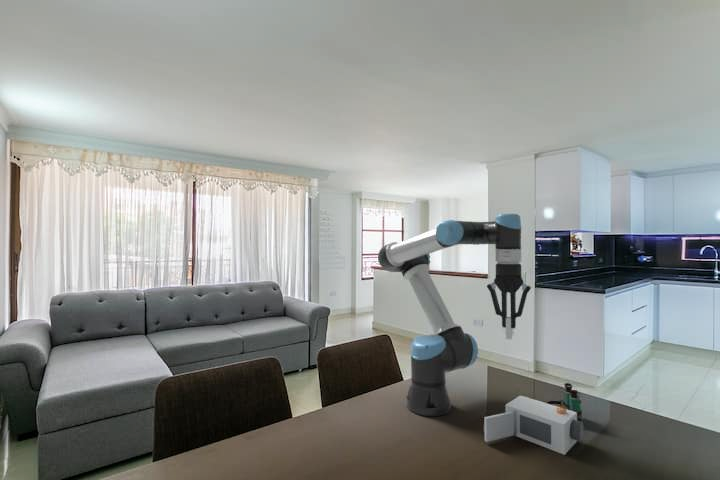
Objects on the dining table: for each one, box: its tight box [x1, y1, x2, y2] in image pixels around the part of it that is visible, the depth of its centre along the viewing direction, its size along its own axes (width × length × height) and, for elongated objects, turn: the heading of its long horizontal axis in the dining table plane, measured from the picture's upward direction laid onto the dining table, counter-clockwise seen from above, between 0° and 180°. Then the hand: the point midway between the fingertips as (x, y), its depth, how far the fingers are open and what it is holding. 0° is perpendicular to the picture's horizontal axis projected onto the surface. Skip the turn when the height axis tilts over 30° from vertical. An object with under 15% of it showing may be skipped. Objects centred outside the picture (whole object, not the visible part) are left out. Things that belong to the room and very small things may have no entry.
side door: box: [483, 411, 516, 443], centre depth 103 cm, size 11×2×6 cm, turn 111°
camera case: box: [505, 394, 585, 456], centre depth 104 cm, size 18×10×9 cm, turn 42°
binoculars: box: [546, 382, 584, 424], centre depth 115 cm, size 9×11×10 cm
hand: (508, 338), depth 113 cm, fingers closed
